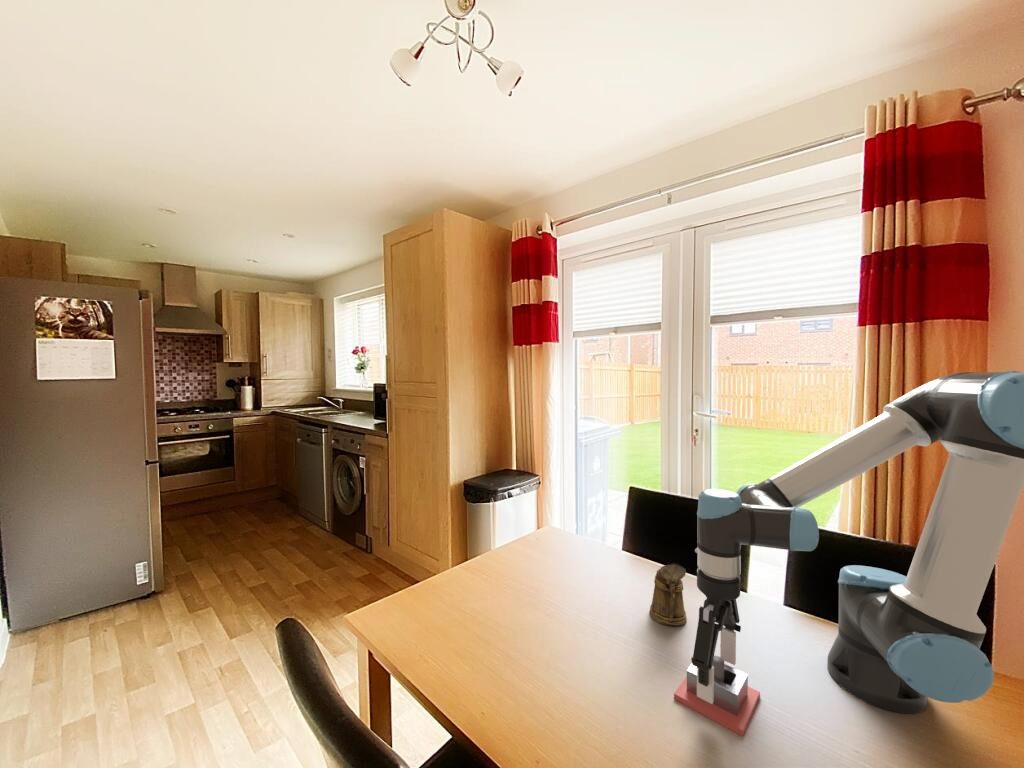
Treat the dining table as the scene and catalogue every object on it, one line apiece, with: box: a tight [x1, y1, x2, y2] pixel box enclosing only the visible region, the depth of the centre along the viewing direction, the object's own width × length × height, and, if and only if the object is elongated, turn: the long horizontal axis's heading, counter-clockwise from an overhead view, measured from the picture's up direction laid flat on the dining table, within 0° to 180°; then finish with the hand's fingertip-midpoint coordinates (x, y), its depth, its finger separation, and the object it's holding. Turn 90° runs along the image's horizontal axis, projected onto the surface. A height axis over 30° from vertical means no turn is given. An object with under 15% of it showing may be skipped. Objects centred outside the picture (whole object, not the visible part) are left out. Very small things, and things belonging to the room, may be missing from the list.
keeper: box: [673, 655, 761, 737], centre depth 79 cm, size 12×12×8 cm
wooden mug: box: [649, 562, 688, 627], centre depth 104 cm, size 9×14×18 cm, turn 167°
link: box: [686, 663, 749, 716], centre depth 80 cm, size 9×7×4 cm
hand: (717, 679), depth 79 cm, fingers open, 13 cm apart
